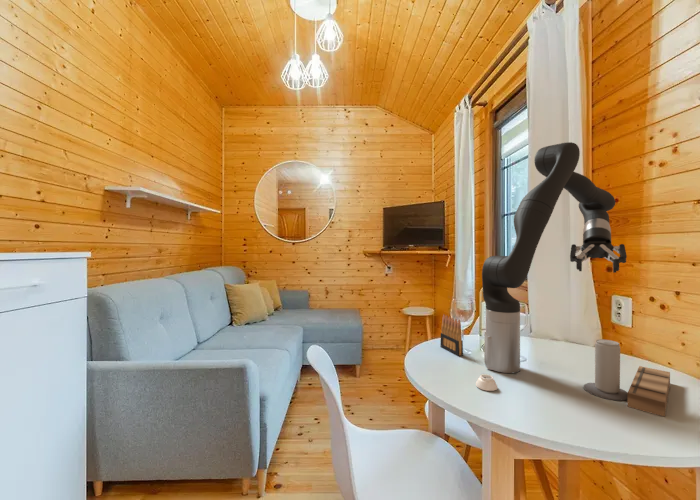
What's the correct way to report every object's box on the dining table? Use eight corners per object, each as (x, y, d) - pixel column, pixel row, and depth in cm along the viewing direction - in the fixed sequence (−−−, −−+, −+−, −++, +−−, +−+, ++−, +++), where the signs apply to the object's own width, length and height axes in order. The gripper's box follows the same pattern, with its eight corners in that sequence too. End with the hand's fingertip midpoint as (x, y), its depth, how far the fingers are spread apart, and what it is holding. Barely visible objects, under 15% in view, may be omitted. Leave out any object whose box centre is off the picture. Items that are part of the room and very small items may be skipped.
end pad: (594, 398, 76) (594, 396, 76) (577, 382, 84) (577, 381, 84) (639, 402, 73) (639, 401, 73) (617, 386, 82) (617, 384, 82)
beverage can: (590, 386, 81) (590, 339, 81) (607, 385, 81) (607, 338, 81) (606, 395, 76) (607, 345, 76) (625, 394, 77) (625, 344, 77)
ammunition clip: (463, 356, 105) (463, 319, 105) (458, 356, 105) (458, 320, 105) (444, 346, 116) (444, 313, 115) (440, 346, 115) (440, 313, 115)
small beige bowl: (479, 382, 85) (473, 388, 81) (479, 371, 85) (473, 376, 81) (499, 387, 82) (493, 394, 78) (499, 376, 82) (493, 382, 78)
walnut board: (664, 416, 67) (664, 402, 67) (627, 406, 72) (627, 392, 72) (669, 383, 84) (670, 371, 84) (639, 376, 88) (639, 365, 88)
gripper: (570, 227, 111) (569, 261, 102) (625, 225, 102) (628, 262, 93) (571, 242, 115) (569, 276, 106) (623, 242, 106) (626, 279, 97)
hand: (597, 270), depth 99 cm, fingers open, 8 cm apart
